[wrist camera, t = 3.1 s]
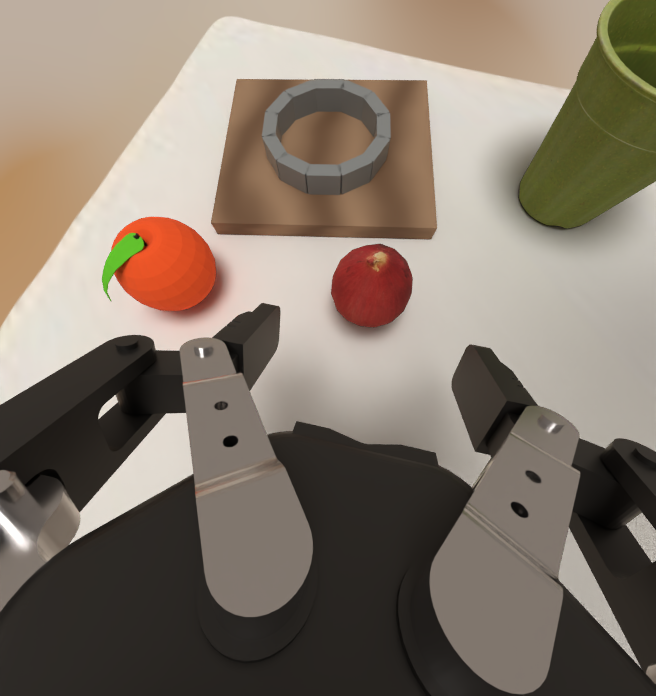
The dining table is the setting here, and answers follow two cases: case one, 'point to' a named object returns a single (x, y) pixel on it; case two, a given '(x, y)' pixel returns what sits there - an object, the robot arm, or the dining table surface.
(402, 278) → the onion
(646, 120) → the plant pot
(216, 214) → the board
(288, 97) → the ring
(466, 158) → the dining table surface
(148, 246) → the clementine
